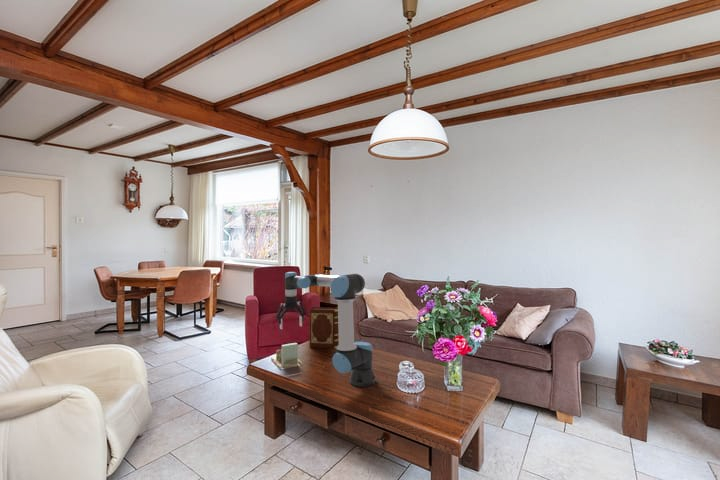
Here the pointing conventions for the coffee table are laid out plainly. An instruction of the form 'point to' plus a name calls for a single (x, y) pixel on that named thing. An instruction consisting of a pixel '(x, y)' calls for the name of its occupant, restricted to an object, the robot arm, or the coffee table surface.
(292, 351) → the sage board
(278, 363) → the rack
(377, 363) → the coffee table surface
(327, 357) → the coffee table surface
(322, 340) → the decorative book
